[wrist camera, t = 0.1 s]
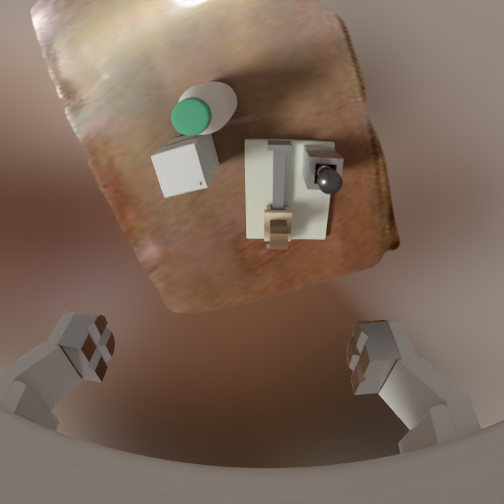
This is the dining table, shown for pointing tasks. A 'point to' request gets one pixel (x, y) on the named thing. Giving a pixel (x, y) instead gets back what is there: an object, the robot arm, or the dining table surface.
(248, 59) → the dining table surface
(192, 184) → the supplement box
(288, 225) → the carriage
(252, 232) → the rail bed
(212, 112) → the milk bottle
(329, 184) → the knob
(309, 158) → the cabinet
